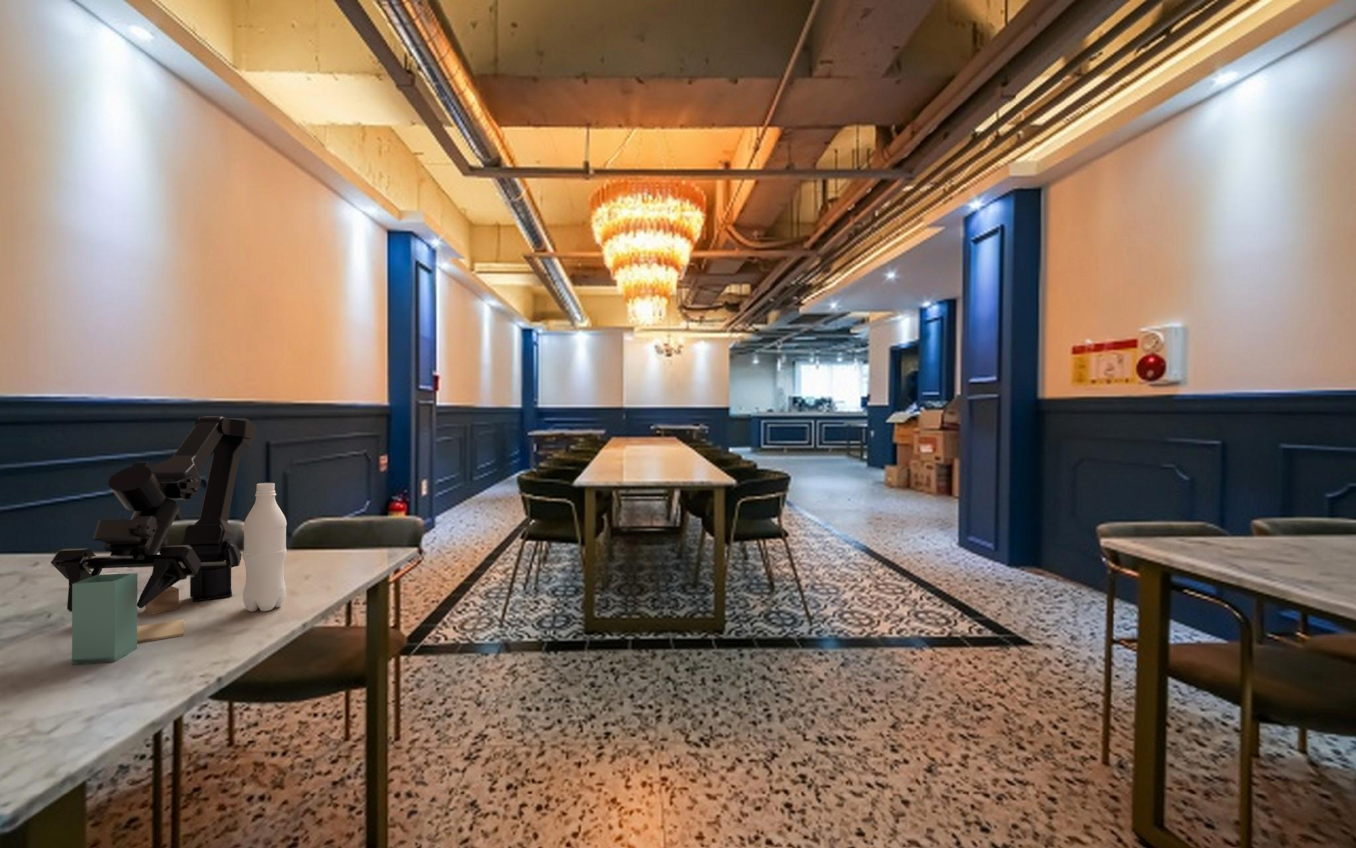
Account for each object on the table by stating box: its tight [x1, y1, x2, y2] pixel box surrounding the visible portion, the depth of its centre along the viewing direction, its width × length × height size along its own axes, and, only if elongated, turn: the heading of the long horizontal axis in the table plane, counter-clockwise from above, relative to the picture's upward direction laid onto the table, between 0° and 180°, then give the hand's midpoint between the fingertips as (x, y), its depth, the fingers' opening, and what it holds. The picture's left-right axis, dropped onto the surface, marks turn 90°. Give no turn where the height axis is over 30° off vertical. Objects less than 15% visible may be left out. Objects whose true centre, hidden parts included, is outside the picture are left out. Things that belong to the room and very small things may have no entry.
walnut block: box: [144, 585, 180, 615], centre depth 119 cm, size 4×4×4 cm
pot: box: [71, 572, 139, 666], centre depth 96 cm, size 6×6×12 cm
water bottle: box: [242, 482, 288, 613], centre depth 120 cm, size 7×7×25 cm
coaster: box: [137, 618, 185, 644], centre depth 106 cm, size 9×9×1 cm
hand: (105, 608), depth 95 cm, fingers open, 9 cm apart
